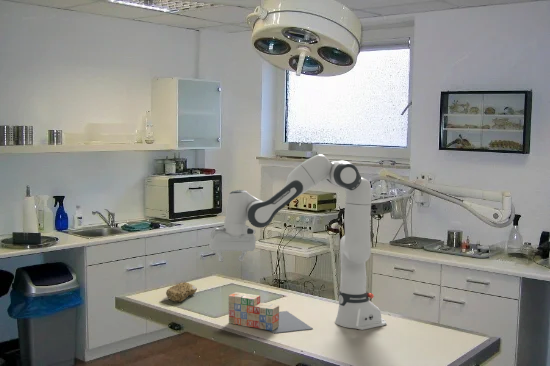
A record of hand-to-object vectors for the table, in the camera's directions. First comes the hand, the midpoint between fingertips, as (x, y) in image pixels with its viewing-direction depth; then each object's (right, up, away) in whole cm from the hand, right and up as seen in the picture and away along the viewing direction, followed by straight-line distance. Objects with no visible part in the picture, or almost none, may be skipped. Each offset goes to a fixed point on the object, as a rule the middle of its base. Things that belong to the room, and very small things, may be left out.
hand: (230, 261), depth 261 cm
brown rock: (-27, -24, +42) cm, 55 cm away
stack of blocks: (+9, -28, +4) cm, 30 cm away
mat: (+21, -28, +10) cm, 36 cm away
